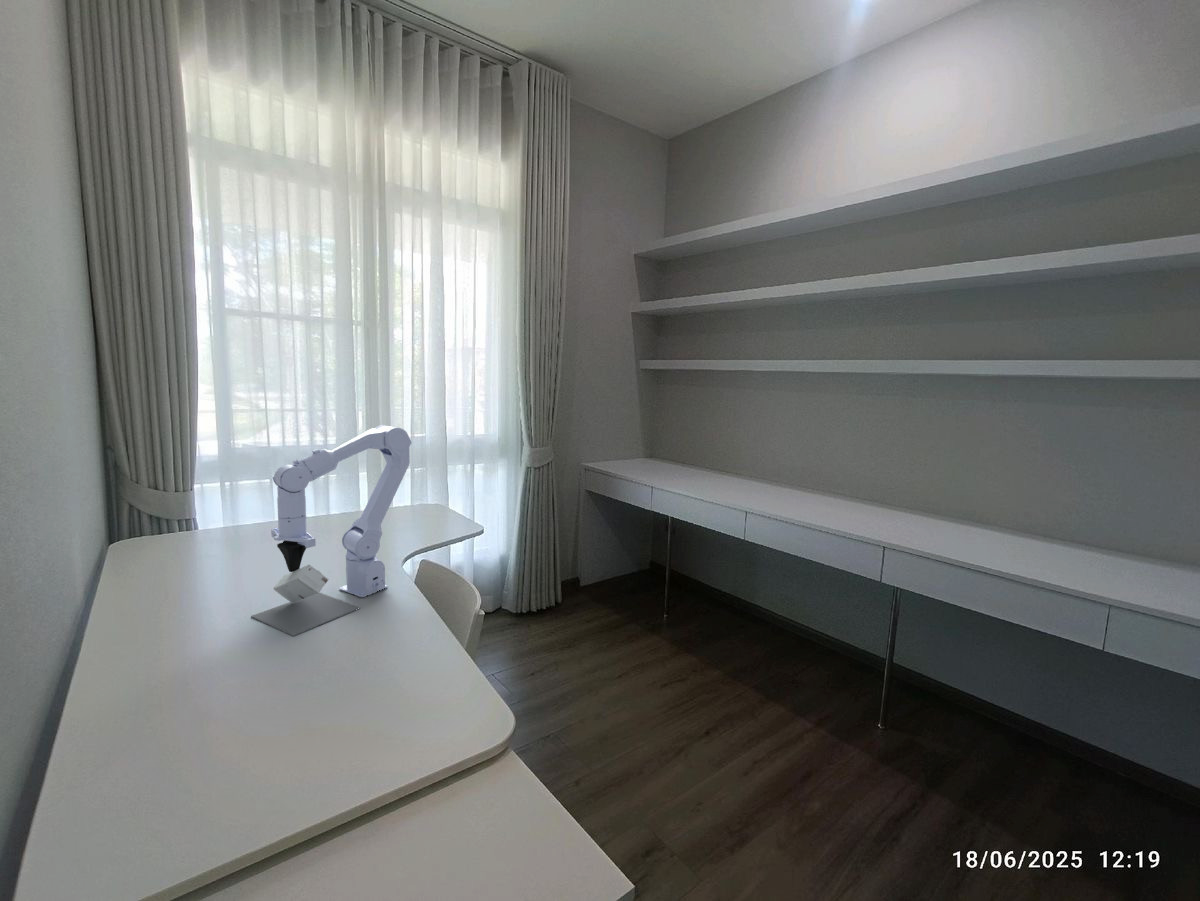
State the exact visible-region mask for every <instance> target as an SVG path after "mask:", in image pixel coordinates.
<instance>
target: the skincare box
mask: <svg viewBox="0 0 1200 901" xmlns="http://www.w3.org/2000/svg"><path fill="white" fill-rule="evenodd" d="M328 581H329V578H328V577H326V576H325V575H324V574H322V572H320V570H318V569H316V568H314V567H313V566H312V565H311V564H307V565H305V566H303V567H301V568H299V569H298V570H295V571H293V572H289V573H286V574H284V575H283V576H282V577H281V578H280V580H279V581H278V582H277V583H276V585H274V587H273V590H274V592H276V593H278V594H279V595H280V596H281V597H282V598H284V599H286V600H287V601H288V602H292V603H294V602H296V601H299V600H301V599H304V598H307V597H309V596H312V595H314V594H317V593H321V591H322V589H323V588H324V586H325V585H326V584H327V583H328Z"/></svg>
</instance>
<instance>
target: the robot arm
mask: <svg viewBox="0 0 1200 901" xmlns="http://www.w3.org/2000/svg"><path fill="white" fill-rule="evenodd" d="M410 446H412V440H411V438H410V436H409V434H408V432H407V431H406V430H405V429H404V428H402V427H394V426H390V425H387V424H380V425H378V426H376V427H375V428H374V427H373V428H370V429H368V430H366V431H365V432H363V433H361V434H359V435H357V436H355V437H353V438H352V439H350V440H348V441H346V442H344V443H342V444H341V445H339V446H337V447H335V448H333V449H331V450H328V449H326V448H321V449H317V448H316V449H314V450H312V453H311V454H309V455H308V456H305V457H303V458H301V459H299V460H298V459H297V458H296V459H294V460H292V464H283V465H281V466H280V467H278V468H277V469H276V471H275V473H274V476H273V477H272V481H273V483H274V484H275V485H276V486H277V487H276V488H277V499H276V500H277V501H276V502H277V519H278V520H277V523H278V525H277V526H278V527H275V528H271V529H270V530H271V531H270V532H271V538H273V540H274V541H276V542H279V543H277V544H276V546H277V548H278V549H279V551H280V552H281V554H282V557H283V558H284V561H285V564H286V567H287V570H288V571H289V573H291V572H293V571H295V570H298V569H300V567H301V564H302V559H303V556H304V554H305V551H306V549H309V548H313V547H316V546H317V544H316V543H317V542H316V537H314V536H312V535H311V534H310V533H309V532H308V531H307V504H306V503H307V502H306V501H307V500H306V488H307V487H308V485H309V483H310V482H313V481H315V480H317V479H319V478H320V477H323V476H325V475H326V474H329V473H331V472H332V471H333V472H334V470H336V469H337V467H338V465H339V462H342V461H343V460H346V459H349V458H350V457H352V456H354V455H357V454H359V453H361V452H364V451H366V450H368V449H369V450H370V449H372V450H373V449H374V450H375V449H376V450H379V451H380V452H381V453H382V456H383V457H384V460H385V462H386V464H385V467H384V468H383V471H382V473H381V474H380V476H379V479H378V481H376V482H377V483H376V485H375V487H374V489H373V491H372V493H371V495H370V497H369V499H368V501H367V504H366V505H365V508H364V509H363V512H362V514H361V516H360V517H358V518H357V519H355V521H353V523H352V525H351V527H349V528H348V529H347V530H346V531H345V532H344V534H343V535H342V539H341V545H342V547H343V548H344V549H345V550H346V554H345V572H346V584H345V585H343V586H340V587H339V591H343V592H346V593H347V594H350V595H353V594H354V596H355V597H359V598H365V597H367V595H368V596H370V595H372V593H373V594H375V593H377V591H378V592H379V590H380V591H383V590H385V589H387V587H388V588H389V585H387V584H386V567H385V564H384V562H383V561H382V560H380V559H379V558H378V556H377V553H378V552H379V550H380V547H381V546H380V545H381V544H380V542H381V538H382V535H383V531H382V523H383V522H384V521H383V520H384V519H385V516H386V515H387V512H388V510H389V508H390V506H391V504H392V502H393V501H394V500H393V499H394V498H395V496H396V493H397V491H398V490H399V488H400V485H401V483H402V481H403V479H404V476H405V474H406V473H407V471H408V468H409V466H410V463H411V462H410V460H411V459H410V456H411V455H410ZM280 541H282V542H280ZM384 588H385V589H384ZM382 589H383V590H382Z"/></svg>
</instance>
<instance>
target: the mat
mask: <svg viewBox="0 0 1200 901" xmlns="http://www.w3.org/2000/svg"><path fill="white" fill-rule="evenodd" d="M358 608H360V606H356V605H354V604H351V603H349V602H346V601H343V600H340V599H337V598H335V597H333V596H330V595H327V594H324V593H321V592H319V593H317V594H314V595H312V596H309V597H307V598H304V599H301V600H299V601H296V602H294V603H292V602H290V601H288V602H287V603H284V604H281V605H278V606H275V607H273V608H269V609H267V610H264V611H261V612H258V613H256V614H252V615H251V616H250V618H251V619H252V618H253V619H255V620H256V621H259V622H262V623H263V624H265V625H267V626H270V627H271V628H274V629H276V630H278V631H280V632H283V633H285V634H287V635H290V636H292V637H296V636H299V635H300V634H304V633H305V632H308V631H310V630H313V629H315V628H317V627H320V626H321V624H322V625H324V623H325V624H327V623H329V622H331V621H330V620H332V621H334V620H336V619H338V618H337V617H339V618H341V617H343V616H342V615H344V616H345V614H346V615H348V614H351V613H353V612H355V611H354V610H356V609H358ZM358 610H359V609H358ZM352 611H353V612H352ZM356 611H357V610H356ZM350 612H351V613H350ZM347 613H348V614H347ZM340 616H341V617H340ZM335 618H336V619H335ZM333 619H334V620H333ZM328 621H329V622H328ZM326 622H327V623H326ZM319 625H320V626H319Z"/></svg>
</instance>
